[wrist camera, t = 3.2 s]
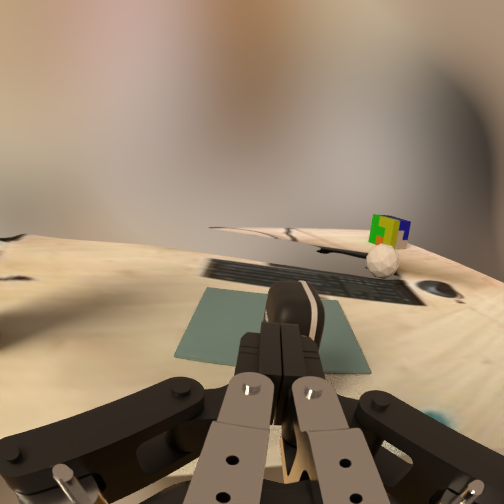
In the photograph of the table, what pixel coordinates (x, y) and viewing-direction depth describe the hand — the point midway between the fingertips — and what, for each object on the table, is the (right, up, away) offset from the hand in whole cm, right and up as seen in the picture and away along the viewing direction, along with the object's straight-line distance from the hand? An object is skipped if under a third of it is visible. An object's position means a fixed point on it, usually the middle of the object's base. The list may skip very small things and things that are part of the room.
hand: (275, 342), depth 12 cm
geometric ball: (+28, -2, +54) cm, 61 cm away
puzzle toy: (+47, +6, +89) cm, 101 cm away
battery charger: (+1, -10, +15) cm, 18 cm away
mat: (+2, -6, +29) cm, 29 cm away
